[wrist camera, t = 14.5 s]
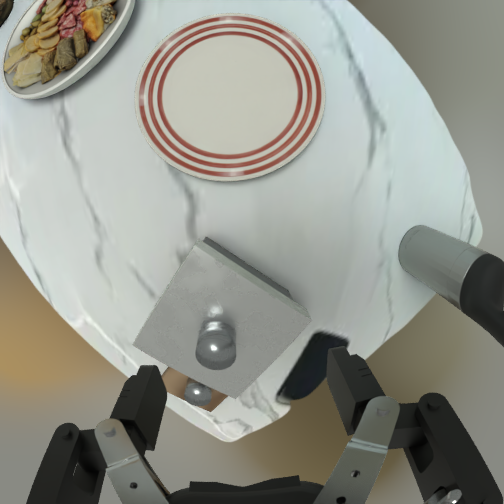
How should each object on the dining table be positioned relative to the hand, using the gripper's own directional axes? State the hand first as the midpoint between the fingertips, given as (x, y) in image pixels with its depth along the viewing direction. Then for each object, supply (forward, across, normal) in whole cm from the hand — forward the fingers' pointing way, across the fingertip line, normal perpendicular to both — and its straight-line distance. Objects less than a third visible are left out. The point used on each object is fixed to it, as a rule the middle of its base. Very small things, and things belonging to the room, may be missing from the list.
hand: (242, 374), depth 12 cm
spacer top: (+30, +11, +28) cm, 43 cm away
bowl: (+31, +28, -43) cm, 60 cm away
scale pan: (+25, +4, +12) cm, 28 cm away
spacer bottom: (+21, +4, +12) cm, 25 cm away
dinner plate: (+32, -1, -21) cm, 38 cm away
